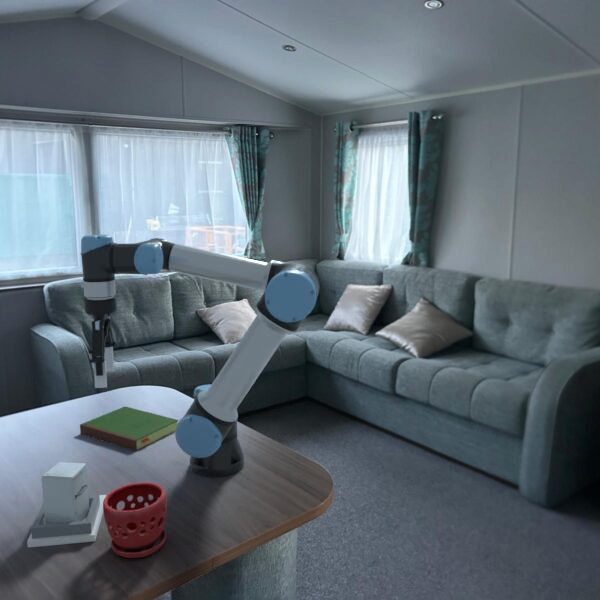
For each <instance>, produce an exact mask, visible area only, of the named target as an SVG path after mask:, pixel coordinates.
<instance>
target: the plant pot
mask: <svg viewBox="0 0 600 600" xmlns="http://www.w3.org/2000/svg"><path fill="white" fill-rule="evenodd" d="M150 495H151V496H152V498H150V497H149V496H150ZM129 496H132V499H130V500H129V499H128V498H129ZM139 497H142V500H141V501H140V500H139V499H138V498H139ZM120 502H123V503H124V507H123V508H122V509H118V504H119V503H120ZM132 504H134V506H132ZM146 504H148V506H146ZM167 509H168V507H167V493H166V490H165V488H164V487H163V486H161V485H159V484H157V483H154V482H144V481H143V482H135V483H129V484H125V485H122V486H120V487H117V488H115V489H114V490H112V491H110V492H109V493H108V494H106V497H105V499H104V501H103V518H104V521H105V524H106V527H107V531H108V534H109V535H110V538H111V543H110V546H111V549H112V551H113V552H114V553H115V554H117V555H118V556H120V557H123V558H127V559H139V558H143V557H146V556H149V555H151V554H153V553H156V552H157V551H158V550H159V549H160V548H162V546H163V545H164V544H165V542H166V539H167V531H166V529H165V525H166V520H167V511H168V510H167Z"/></svg>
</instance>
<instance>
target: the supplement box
mask: <svg viewBox="0 0 600 600" xmlns="http://www.w3.org/2000/svg"><path fill="white" fill-rule="evenodd" d="M87 465H88V464H87V462H86V463H83V462H64V461H63V462H62V461H60V462H59V461H58V462H56V463H55V464H54V465H53V466H52V467H50V468H49V469H48V470H47V471H46V472H45V473H43V475H42V476H41V484H42V486H41V487H42V499H43V503H44V514H45V524H54V523H65V522H76V521H82V520H83V519H84V518H85V517H86V516H87V515H88V513H89V496H90V495H89V482H88V468H87Z"/></svg>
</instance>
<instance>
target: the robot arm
mask: <svg viewBox="0 0 600 600" xmlns="http://www.w3.org/2000/svg"><path fill="white" fill-rule="evenodd" d="M80 256H81V265H82V266H81V267H82V282H83V284H81V285H80V288H81V289H83V296H84V297H85V299H84V301H83V303H84V312H85V314H87V315H90V316H91V315H92V316H94V319H93V321H91V329H92V331H91V332H92V335H91V359H89V364H93V376H94V379H93V380H94V389H101V388H103V389H104V388H107V387H108V382H107V381H108V380H107V372H115V361H114V360H115V359H114V347H116V341H115V339H114V334H113V328H112V320H111V319H112V318H111V314H114V313H116V312H117V298H116V297H115V296H116V294H117V291H116V290H117V289H116V288H117V287H116V286H117V285H116V276H115V275H119V274H121V275H122V274H123V275H143V276H147V275H158V274H159V273H161V271H168V272H173V273H177V274H181V275H186V276H192V277H196V278H200V279H206V280H210V281H214V282H215V281H216V282H219V283H225V284H229V285H233V286H237V287H242V288H247V289H251V290H254V291H255V290H257V291H260V292H262V295H261V297H260V298H259V300H258V302H257V303H256V305H255V310H256V313H257V314H256V316H255V318H254V319H253V321H252V322H251V324H250V325H249V326H248V328H247V329H246V331H245V333H244V335H242V337H241V338H240V341H239V342H238V344H237V345H236V347H235V348H234V350H233V351H232V353H231V354H230V356H229V358H228V359H227V360H226V362H225V364H224V365H223V367H222V368H221V369H220V371H219V372H218V375H217V376H216V377H215V378H214V380H213V382H212V384H210V383H209V384H202V385H199V386H197V387H195V388H194V390H193V395H192V396H193V402H192V403H191V405H190V406H189V408H188V409H187V411H186V413H185V414H184V415H183V416H182V417H181V418H180V419H179V420H178V421H177V427H176V431H174V432H175V433H174V435H175V436H174V437H175V440H176V444H177V445H178V447H179V449H180V450H181V451H182V452H183V453H184V454H186V455H188V456H189V468H190V470H191V471H192V472H193V473H194V474H196V475H200V476H202V477H210V478H211V477H212V478H213V477H214V478H216V477H224V476H229V475H232V473H233V474H235V473H237V472H238V470H239V471H240V470H242V469H243V467H244V466H243V465H245V455H244V452H243V449H242V446H241V444H240V441H239V438H238V418H239V414H238V407H239V406H240V405H241V403H242V402H243V400H244V398H245V397H246V395H247V394H248V392H249V391H250V389H251V388H252V386H253V385H254V384H255V383H256V380H257V379H258V378H259V376H260V374H261V373H262V372H263V370H264V368H265V367H266V366H267V364H268V363H269V361H270V360H271V358H272V357H273V355H274V354H275V352H276V351H277V349H278V348H279V346H280V345H281V343H282V342H283V341H284V339H285V337H286V336H287V335H288V334H289V335H290V334H293V333H296V332H297V330H298V329H299V327H300V326H301V325H302V323H303V321H304V320H305V319H306V318H307V316H308V315H309V314H311V313H312V311H313V309H314V308H315V306H316V303H317V299H318V296H319V294H320V288H321V287H320V285H321V284H320V280H319V277H318V275H317V274H316V272H315V271H314V270H313V269H312V268H310V267H308V266H307V265H305V264H301V263H295V262H294V263H293V262H286V261H279V260H276V259H275V260H274V259H272V260H270V261H269V262H264V261H260V260H255V259H251V258H247V257H246V258H245V257H242V256H237V255H232V254H229V253H228V254H227V253H222V252H219V251H213V250H208V249H203V248H198V247H193V246H189V245H184V244H181V243H174V242H170V241H168V240H167V239H165V238H162V237H161V238H160V237H159V238H158V237H155V238H151V239H149V240H145V241H140V242H136V243H133V242H132V243H119V242H118V243H116V242H114V239H113V236H112V235H110V234H86V235H83V236H82V237H81V239H80Z"/></svg>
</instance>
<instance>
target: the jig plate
mask: <svg viewBox="0 0 600 600" xmlns="http://www.w3.org/2000/svg"><path fill="white" fill-rule="evenodd" d="M106 496H107V494H98V495H89V513H88V515H87V516H86V517H85V518H84V519H83V520H82V521H76V522H65V523H54V524H45V514H44V502H43V503H42V505H41V508H40V509H39V511H38V513H37V515H36V517H35V520H34V521H33V524H32V526H31V528H30V532H31V533H30V535H29V536H28V538H27V542H26V544H27V548H38V547H48V546H49V547H50V546H58V545H59V546H60V545H69V544H80V543H92V542H96V539H97V536H98V532H99V529H100V524H101V521H102V518H103V516H104V511H103V501H104V499H105V497H106Z"/></svg>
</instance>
